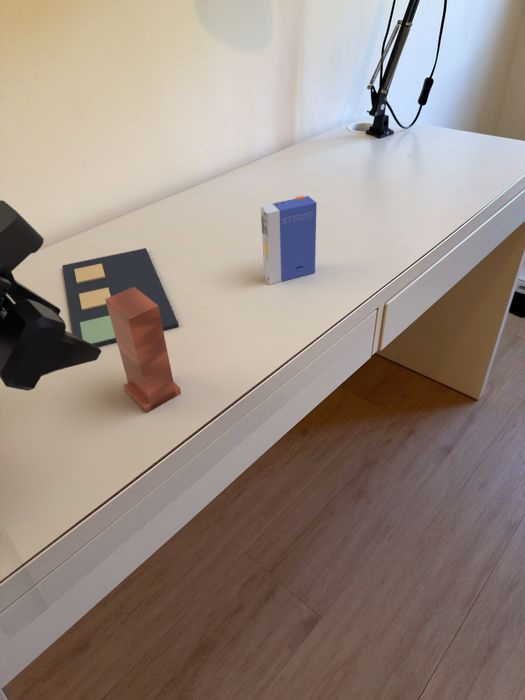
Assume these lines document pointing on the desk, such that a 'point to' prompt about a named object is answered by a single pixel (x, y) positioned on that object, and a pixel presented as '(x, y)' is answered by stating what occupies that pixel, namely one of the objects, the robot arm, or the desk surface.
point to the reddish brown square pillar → (142, 348)
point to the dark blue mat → (110, 292)
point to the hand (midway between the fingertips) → (77, 333)
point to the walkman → (289, 239)
